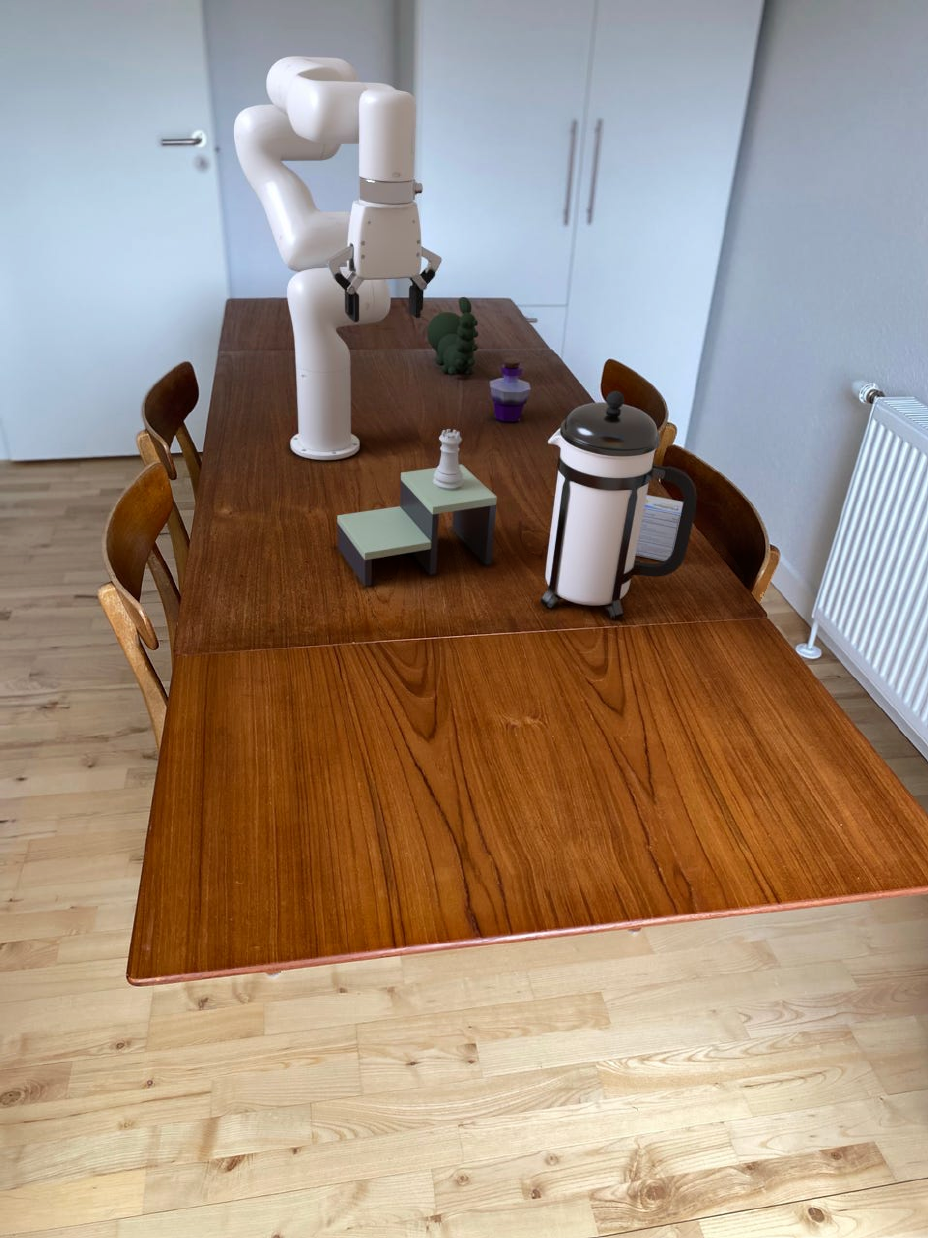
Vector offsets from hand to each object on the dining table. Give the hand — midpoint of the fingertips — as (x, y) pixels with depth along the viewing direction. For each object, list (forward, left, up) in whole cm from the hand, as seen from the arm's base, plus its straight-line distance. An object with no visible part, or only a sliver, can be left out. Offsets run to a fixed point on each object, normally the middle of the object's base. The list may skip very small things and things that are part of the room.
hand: (384, 317), depth 137 cm
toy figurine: (-60, +40, -30) cm, 78 cm away
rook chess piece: (+19, +3, -19) cm, 27 cm away
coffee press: (+38, +18, -30) cm, 52 cm away
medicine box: (+30, +33, -30) cm, 54 cm away
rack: (+19, -2, -30) cm, 36 cm away
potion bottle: (-28, +38, -30) cm, 56 cm away
